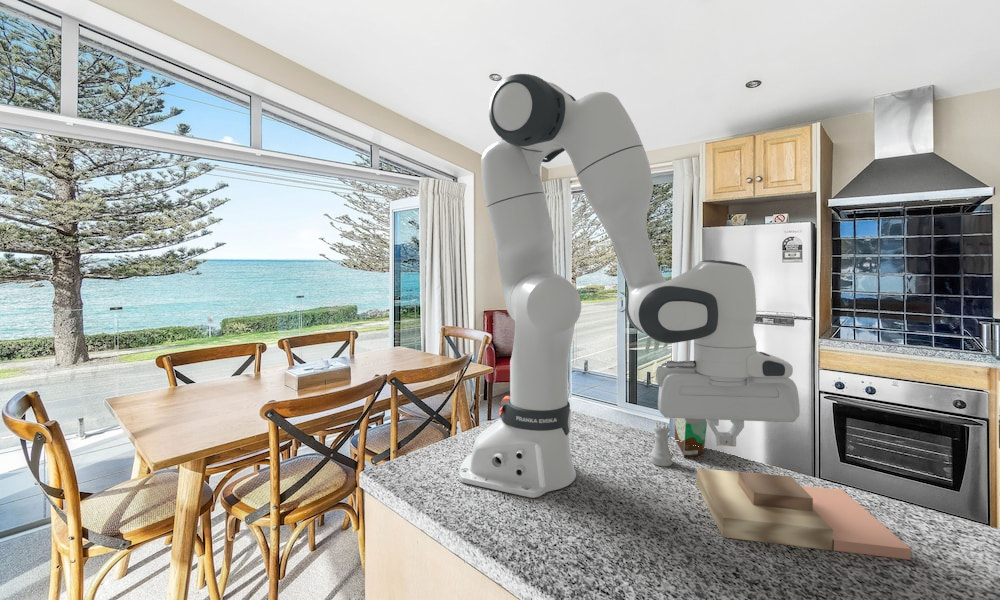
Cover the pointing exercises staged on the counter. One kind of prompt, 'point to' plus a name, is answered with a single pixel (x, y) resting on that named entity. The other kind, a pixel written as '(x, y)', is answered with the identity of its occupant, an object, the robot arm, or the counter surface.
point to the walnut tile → (774, 491)
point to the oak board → (759, 515)
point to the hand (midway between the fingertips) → (724, 444)
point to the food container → (690, 436)
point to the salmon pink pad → (855, 525)
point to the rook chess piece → (661, 446)
